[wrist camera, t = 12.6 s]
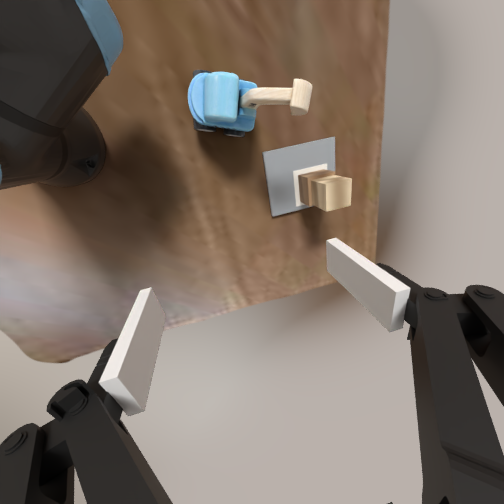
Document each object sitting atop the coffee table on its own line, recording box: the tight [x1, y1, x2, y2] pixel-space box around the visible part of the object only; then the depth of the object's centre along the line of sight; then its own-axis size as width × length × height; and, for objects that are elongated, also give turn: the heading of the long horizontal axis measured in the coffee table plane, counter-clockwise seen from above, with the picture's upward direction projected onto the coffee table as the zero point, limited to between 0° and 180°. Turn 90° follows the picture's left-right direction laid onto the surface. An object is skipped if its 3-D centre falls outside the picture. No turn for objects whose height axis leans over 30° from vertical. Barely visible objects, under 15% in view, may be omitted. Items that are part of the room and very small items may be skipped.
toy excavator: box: [188, 70, 312, 137], centre depth 33 cm, size 9×17×17 cm, turn 83°
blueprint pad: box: [262, 137, 335, 216], centre depth 48 cm, size 16×14×1 cm
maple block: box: [311, 175, 352, 211], centre depth 42 cm, size 5×5×6 cm
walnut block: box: [298, 169, 335, 207], centre depth 47 cm, size 6×6×5 cm
